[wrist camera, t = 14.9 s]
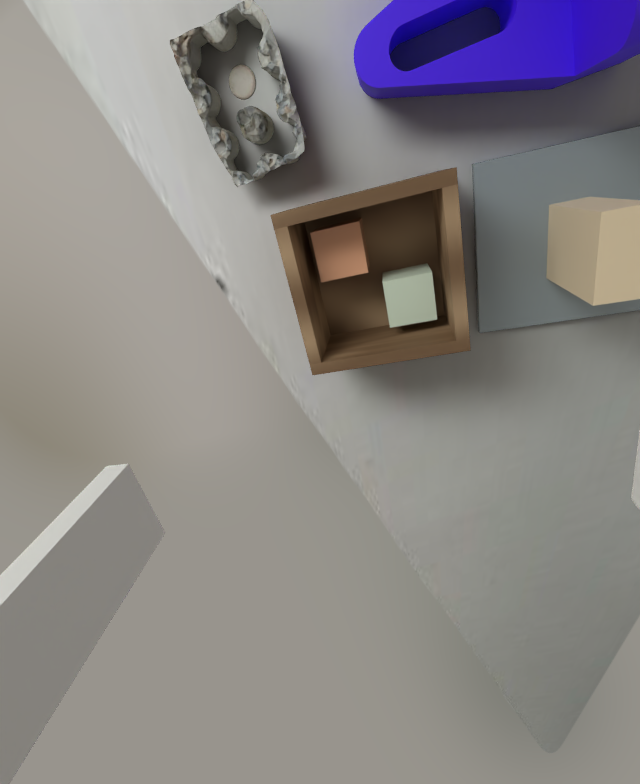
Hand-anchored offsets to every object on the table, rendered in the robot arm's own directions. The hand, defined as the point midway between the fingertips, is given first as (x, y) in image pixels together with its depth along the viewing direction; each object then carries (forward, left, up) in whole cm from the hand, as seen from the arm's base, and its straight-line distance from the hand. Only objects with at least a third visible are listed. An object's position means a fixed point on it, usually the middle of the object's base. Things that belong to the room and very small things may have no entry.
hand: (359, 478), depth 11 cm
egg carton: (-15, -8, -31) cm, 35 cm away
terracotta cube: (-2, -2, -30) cm, 30 cm away
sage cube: (+3, +3, -30) cm, 30 cm away
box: (0, 0, -31) cm, 31 cm away
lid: (+1, +16, -31) cm, 35 cm away
